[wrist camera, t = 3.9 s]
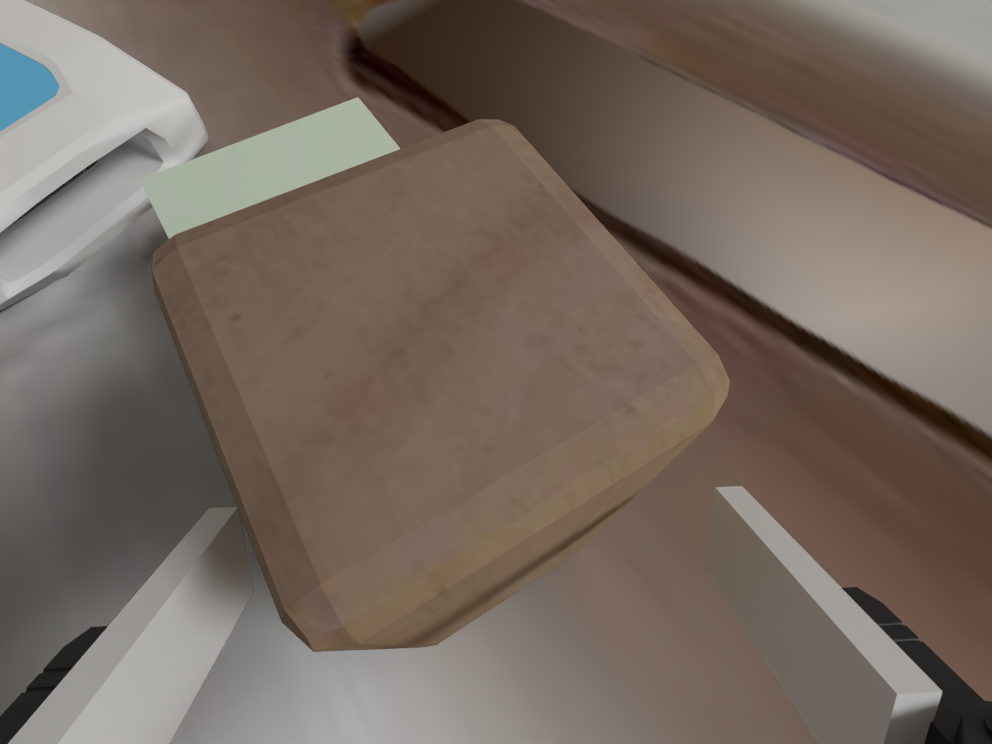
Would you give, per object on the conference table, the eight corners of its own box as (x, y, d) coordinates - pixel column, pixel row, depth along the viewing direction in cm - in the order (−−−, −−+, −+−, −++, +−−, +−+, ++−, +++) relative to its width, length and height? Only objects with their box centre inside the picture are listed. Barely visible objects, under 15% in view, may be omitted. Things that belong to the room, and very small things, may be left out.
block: (336, 481, 30) (118, 234, 12) (491, 398, 32) (504, 91, 14) (419, 656, 26) (284, 683, 8) (587, 546, 28) (769, 379, 11)
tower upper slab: (270, 406, 26) (228, 358, 22) (188, 246, 31) (139, 179, 26) (474, 299, 30) (473, 238, 25) (373, 168, 34) (358, 97, 30)
